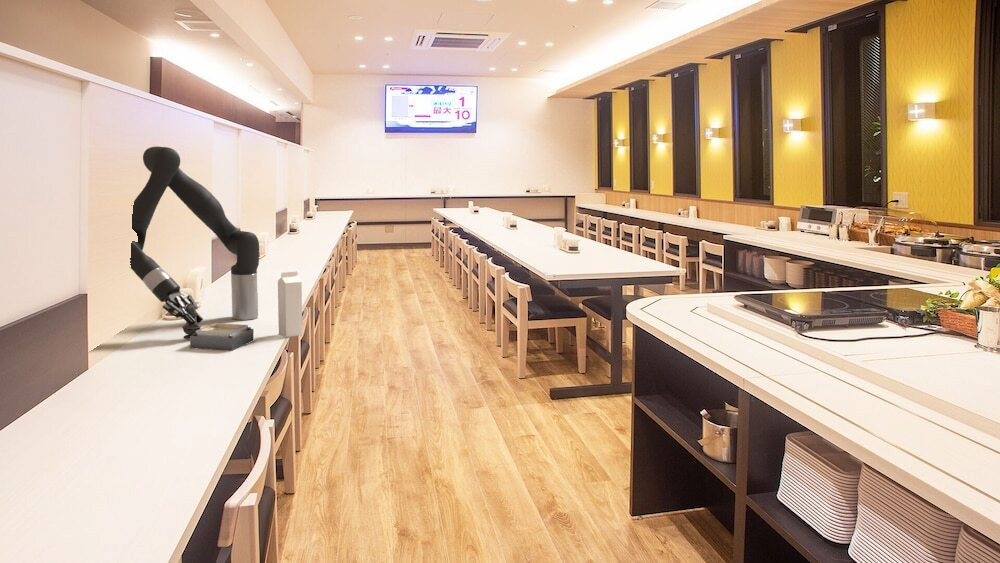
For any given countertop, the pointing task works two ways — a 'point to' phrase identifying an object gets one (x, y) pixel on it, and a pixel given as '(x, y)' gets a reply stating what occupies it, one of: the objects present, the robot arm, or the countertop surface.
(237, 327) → the grey square box
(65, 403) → the countertop surface
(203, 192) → the robot arm
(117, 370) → the countertop surface
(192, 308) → the grey stone figure
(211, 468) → the countertop surface
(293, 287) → the milk
